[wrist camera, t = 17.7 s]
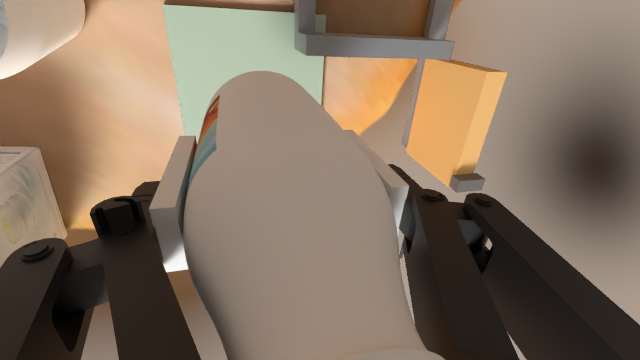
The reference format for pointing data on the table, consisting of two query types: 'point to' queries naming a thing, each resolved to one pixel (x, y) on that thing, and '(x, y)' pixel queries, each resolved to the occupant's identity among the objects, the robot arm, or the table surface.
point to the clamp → (377, 43)
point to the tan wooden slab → (453, 120)
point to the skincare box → (26, 200)
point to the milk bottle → (293, 232)
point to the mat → (233, 53)
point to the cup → (35, 30)
